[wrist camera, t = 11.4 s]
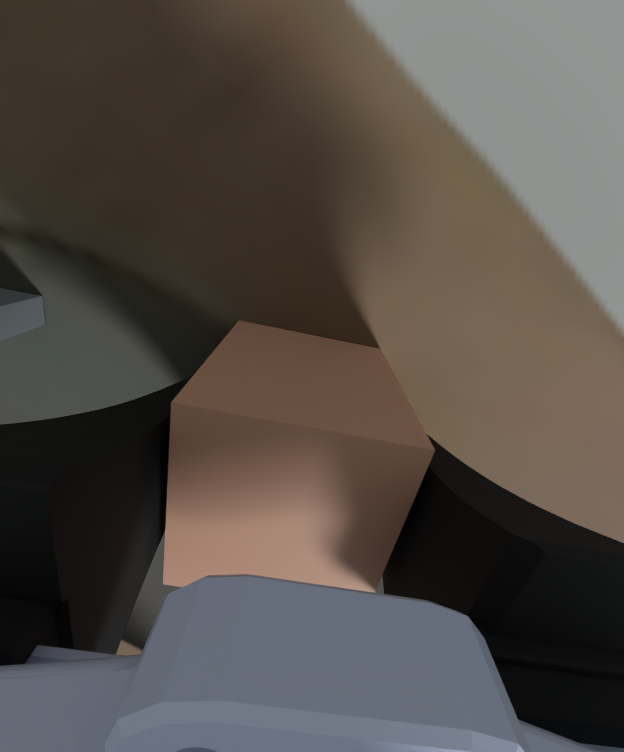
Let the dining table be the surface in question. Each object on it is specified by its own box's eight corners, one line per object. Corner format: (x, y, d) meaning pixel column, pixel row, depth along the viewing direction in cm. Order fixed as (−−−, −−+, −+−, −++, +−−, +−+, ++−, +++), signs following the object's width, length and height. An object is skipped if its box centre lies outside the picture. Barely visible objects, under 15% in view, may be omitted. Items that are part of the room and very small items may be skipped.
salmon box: (345, 461, 14) (365, 613, 8) (224, 440, 14) (162, 584, 8) (379, 348, 12) (435, 450, 6) (239, 319, 12) (171, 402, 6)
